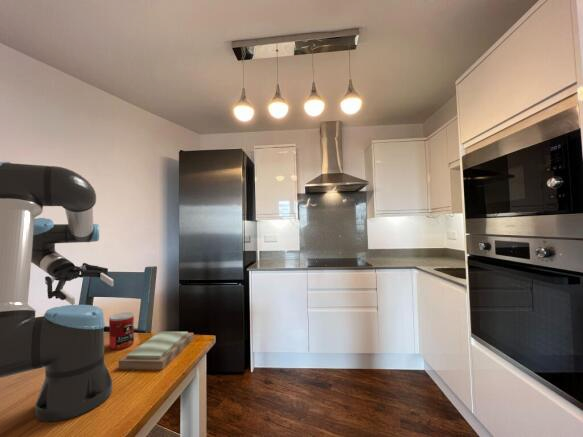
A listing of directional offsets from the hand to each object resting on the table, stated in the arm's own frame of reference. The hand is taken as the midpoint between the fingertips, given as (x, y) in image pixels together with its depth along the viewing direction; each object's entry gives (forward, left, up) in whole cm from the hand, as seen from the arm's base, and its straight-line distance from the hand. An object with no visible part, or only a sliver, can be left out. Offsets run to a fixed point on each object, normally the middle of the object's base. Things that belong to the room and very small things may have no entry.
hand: (94, 291), depth 99 cm
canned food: (-1, -9, -21) cm, 22 cm away
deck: (-13, -23, -20) cm, 33 cm away
